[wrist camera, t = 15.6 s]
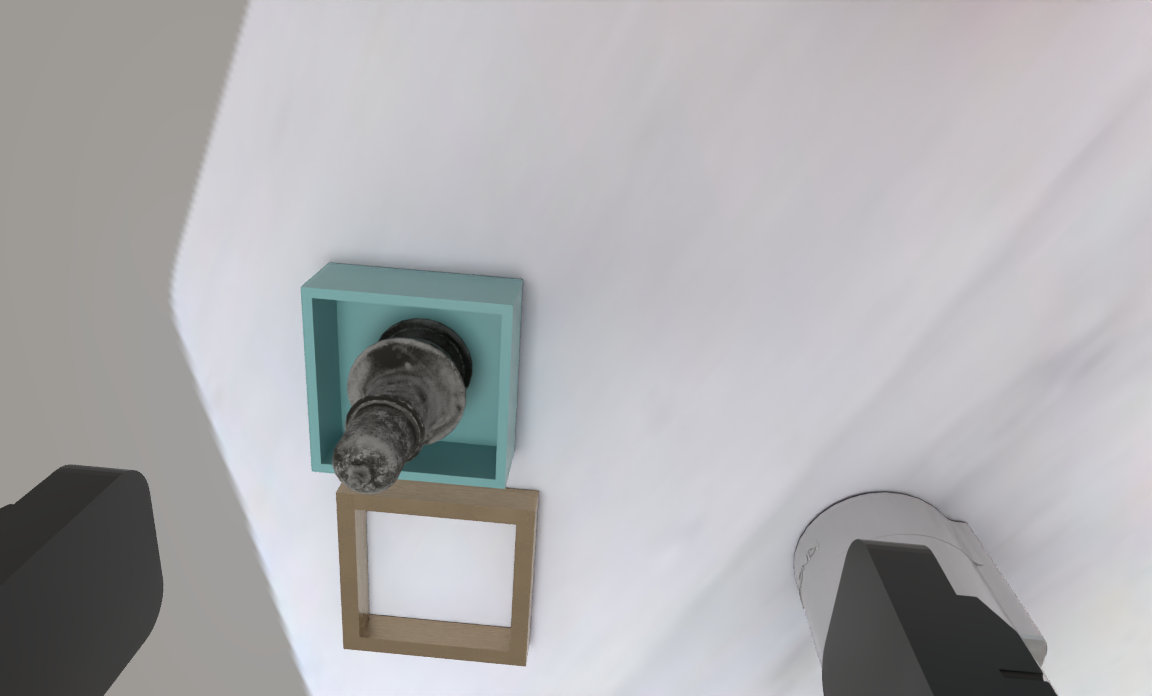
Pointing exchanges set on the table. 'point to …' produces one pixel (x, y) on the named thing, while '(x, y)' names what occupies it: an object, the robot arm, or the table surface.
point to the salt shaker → (401, 401)
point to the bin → (389, 295)
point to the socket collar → (430, 634)
